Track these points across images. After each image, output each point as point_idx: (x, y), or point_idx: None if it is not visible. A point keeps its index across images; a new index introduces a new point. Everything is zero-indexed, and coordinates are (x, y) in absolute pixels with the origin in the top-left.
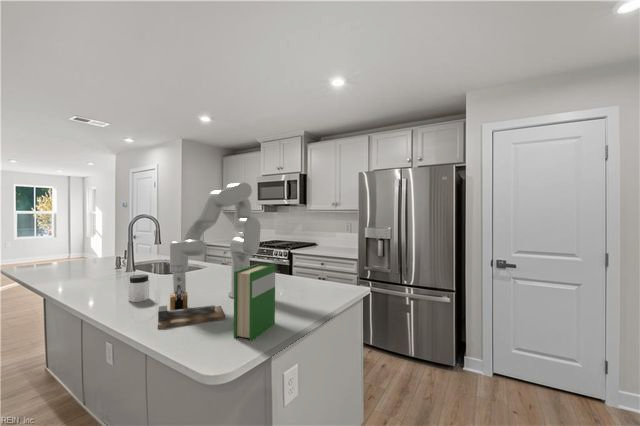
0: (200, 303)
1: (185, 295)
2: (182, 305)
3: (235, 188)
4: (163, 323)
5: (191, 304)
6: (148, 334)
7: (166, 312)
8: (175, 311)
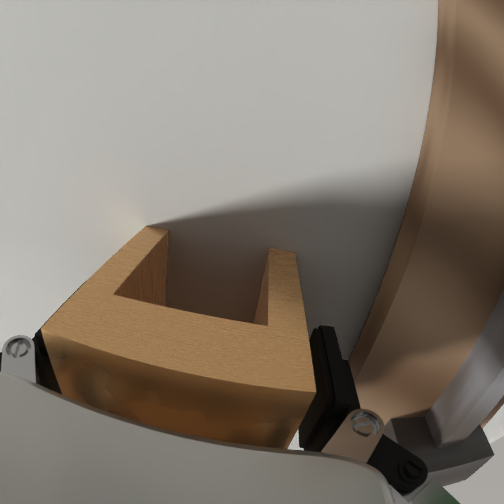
0: (104, 73)
1: (303, 414)
2: (338, 352)
3: None
4: (489, 415)
5: (92, 169)
6: (486, 430)
7: (489, 447)
8: (491, 408)
